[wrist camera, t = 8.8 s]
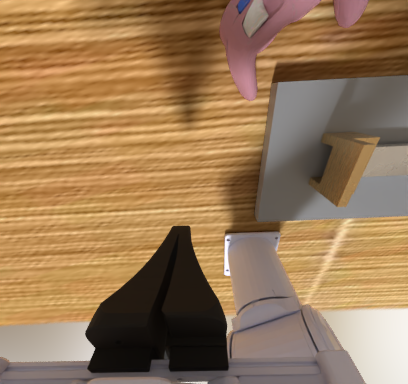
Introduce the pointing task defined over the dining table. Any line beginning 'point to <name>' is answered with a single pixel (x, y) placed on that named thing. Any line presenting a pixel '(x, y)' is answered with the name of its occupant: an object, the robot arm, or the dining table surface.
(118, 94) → the dining table surface
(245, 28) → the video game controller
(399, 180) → the base board
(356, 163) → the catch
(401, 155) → the silver flat bar
